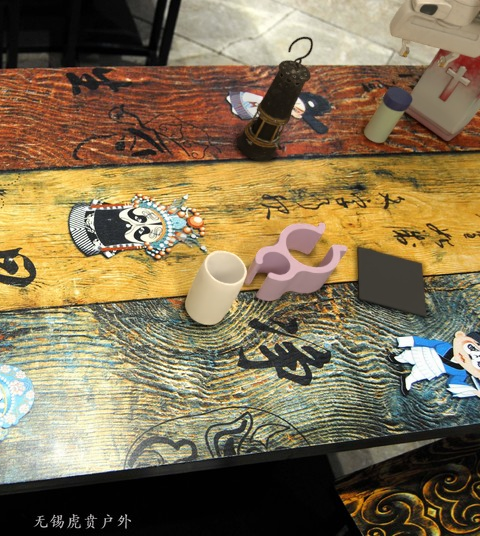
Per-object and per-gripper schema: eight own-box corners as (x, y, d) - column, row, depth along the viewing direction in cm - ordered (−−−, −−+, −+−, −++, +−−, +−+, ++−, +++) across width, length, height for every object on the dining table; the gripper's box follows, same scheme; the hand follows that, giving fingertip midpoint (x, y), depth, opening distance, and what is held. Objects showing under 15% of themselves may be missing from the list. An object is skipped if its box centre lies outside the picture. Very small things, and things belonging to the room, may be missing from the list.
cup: (180, 324, 139) (201, 281, 127) (182, 289, 144) (203, 244, 133) (224, 333, 139) (249, 291, 128) (225, 297, 144) (248, 253, 133)
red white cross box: (396, 111, 188) (462, 9, 164) (417, 97, 193) (484, -4, 169) (444, 145, 182) (519, 45, 158) (464, 130, 187) (540, 30, 163)
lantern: (277, 163, 169) (332, 57, 146) (239, 158, 168) (288, 51, 145) (272, 135, 175) (324, 29, 151) (235, 131, 174) (281, 23, 150)
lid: (407, 98, 175) (411, 90, 173) (408, 114, 171) (413, 107, 169) (382, 91, 175) (386, 84, 173) (383, 107, 171) (387, 100, 169)
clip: (270, 313, 143) (283, 293, 138) (231, 267, 149) (242, 246, 143) (341, 277, 152) (356, 257, 146) (302, 234, 157) (315, 213, 152)
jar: (386, 129, 183) (410, 92, 173) (386, 145, 179) (411, 107, 170) (363, 123, 183) (386, 86, 173) (363, 139, 179) (387, 101, 170)
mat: (420, 264, 157) (421, 263, 157) (425, 317, 149) (426, 316, 148) (357, 247, 157) (358, 246, 157) (358, 299, 149) (359, 298, 149)
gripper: (502, 10, 154) (465, 64, 165) (408, -15, 154) (377, 40, 165) (507, 27, 150) (468, 81, 161) (410, 1, 150) (378, 57, 161)
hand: (421, 60), depth 163 cm, fingers open, 7 cm apart
